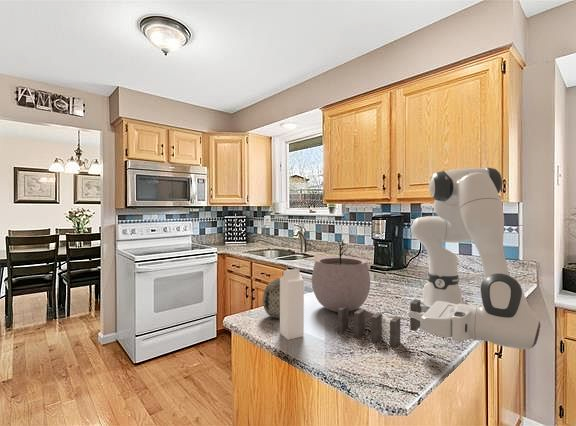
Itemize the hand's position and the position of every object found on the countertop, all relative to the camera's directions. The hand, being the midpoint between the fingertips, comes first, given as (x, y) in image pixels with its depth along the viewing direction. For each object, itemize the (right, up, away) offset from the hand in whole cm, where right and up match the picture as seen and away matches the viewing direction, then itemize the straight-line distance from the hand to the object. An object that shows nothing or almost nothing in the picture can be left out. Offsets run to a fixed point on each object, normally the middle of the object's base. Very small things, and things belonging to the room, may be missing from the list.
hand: (412, 310), depth 95 cm
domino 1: (-18, -11, +14) cm, 26 cm away
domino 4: (-4, -12, +3) cm, 13 cm away
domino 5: (+1, -5, 0) cm, 5 cm away
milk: (-36, -12, +10) cm, 40 cm away
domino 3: (-9, -12, +7) cm, 16 cm away
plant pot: (-16, -11, +36) cm, 41 cm away
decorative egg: (-42, -11, +27) cm, 51 cm away
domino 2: (-14, -12, +11) cm, 21 cm away
